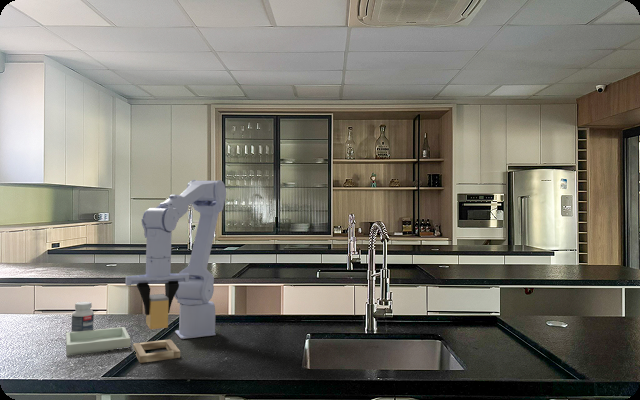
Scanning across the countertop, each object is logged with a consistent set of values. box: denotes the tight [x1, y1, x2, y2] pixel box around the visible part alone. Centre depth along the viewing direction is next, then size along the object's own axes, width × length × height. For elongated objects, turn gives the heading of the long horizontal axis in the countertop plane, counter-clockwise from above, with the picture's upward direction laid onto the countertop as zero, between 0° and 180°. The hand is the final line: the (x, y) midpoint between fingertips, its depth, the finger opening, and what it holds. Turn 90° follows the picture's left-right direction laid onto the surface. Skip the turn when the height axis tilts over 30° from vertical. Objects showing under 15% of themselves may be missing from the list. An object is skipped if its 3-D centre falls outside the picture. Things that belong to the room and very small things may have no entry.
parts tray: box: [65, 326, 131, 357], centre depth 119 cm, size 14×12×2 cm
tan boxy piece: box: [145, 293, 169, 330], centre depth 114 cm, size 4×6×7 cm, turn 29°
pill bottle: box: [70, 301, 95, 332], centre depth 127 cm, size 5×5×9 cm
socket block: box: [132, 338, 181, 364], centre depth 114 cm, size 9×11×2 cm
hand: (157, 313), depth 114 cm, fingers closed on tan boxy piece, 4 cm apart
